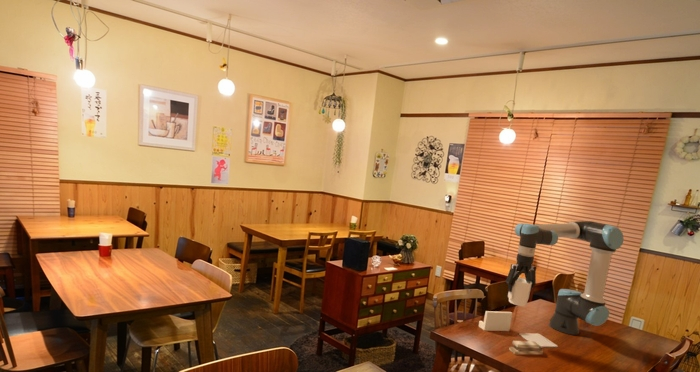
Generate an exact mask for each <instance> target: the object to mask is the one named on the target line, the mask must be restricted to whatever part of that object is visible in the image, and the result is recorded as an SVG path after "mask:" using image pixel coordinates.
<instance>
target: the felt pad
mask: <svg viewBox="0 0 700 372" xmlns="http://www.w3.org/2000/svg"><path fill="white" fill-rule="evenodd" d="M518 335H519V336H520V337H522V338H523V339H525V341H533V342H536V343H537V344H538V345H540V346H541V347H542V348H559V346H558V344H556V343H554V342H553V341H551V340H549V339H548V338H547V337H545V336H543V335H542V334H540V333H529V332H528V333H527V332H526V333H518Z"/></svg>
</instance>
